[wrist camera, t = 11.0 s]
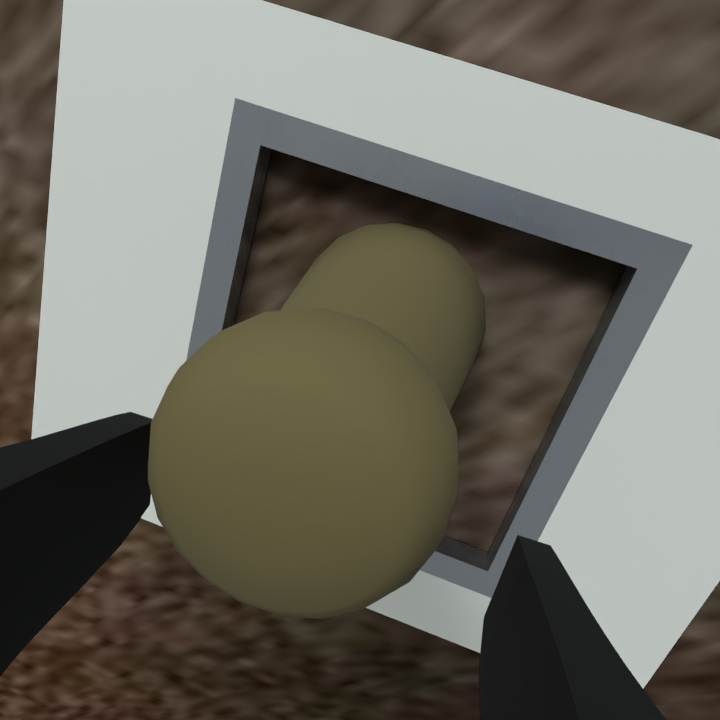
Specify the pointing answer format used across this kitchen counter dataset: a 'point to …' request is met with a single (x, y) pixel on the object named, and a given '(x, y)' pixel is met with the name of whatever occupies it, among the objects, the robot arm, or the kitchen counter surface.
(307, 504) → the cork
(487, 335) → the kitchen counter surface
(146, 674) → the kitchen counter surface
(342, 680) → the kitchen counter surface
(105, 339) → the white picture frame
